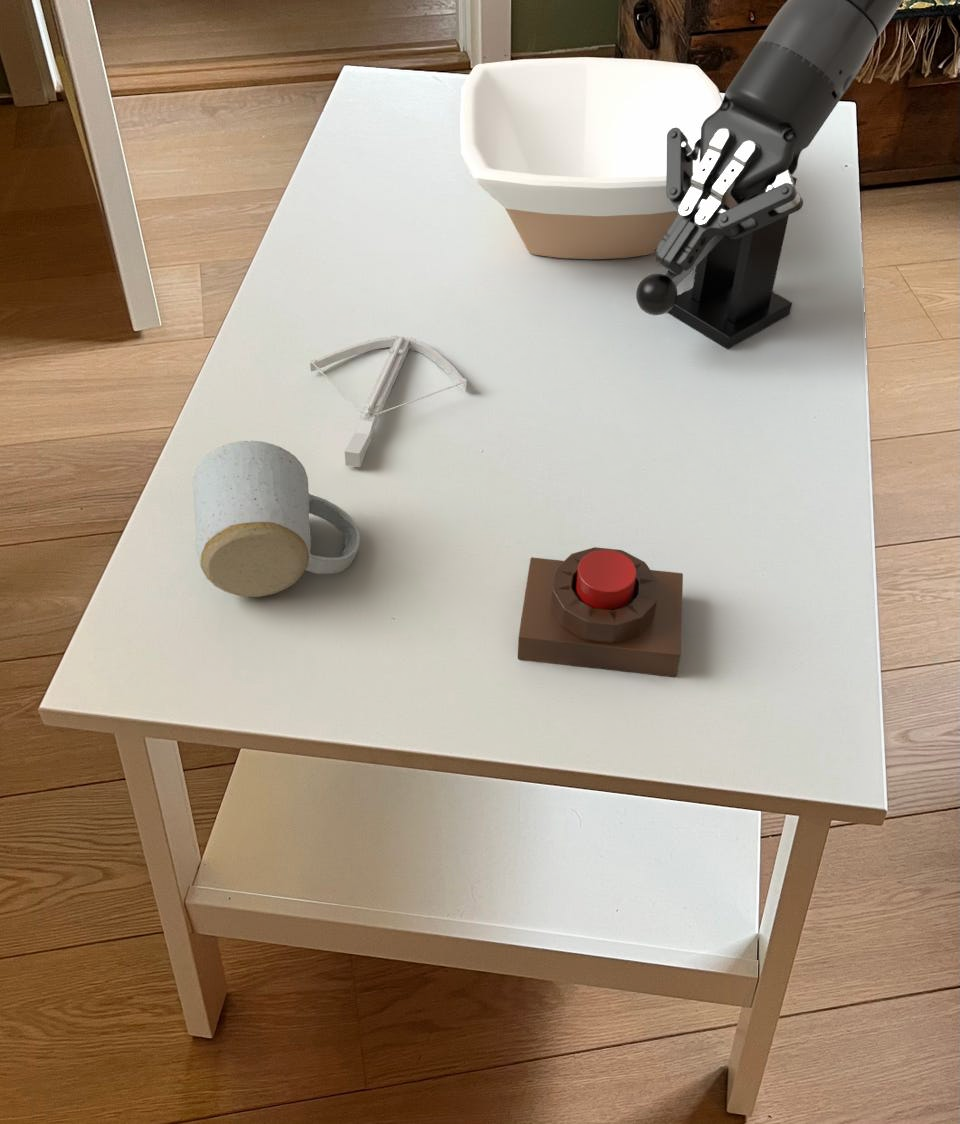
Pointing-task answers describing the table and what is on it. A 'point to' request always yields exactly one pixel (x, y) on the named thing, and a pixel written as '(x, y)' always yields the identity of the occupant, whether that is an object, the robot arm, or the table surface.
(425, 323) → the table surface
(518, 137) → the bowl
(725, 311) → the bracket
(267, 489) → the ceramic mug
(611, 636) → the button block
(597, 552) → the button
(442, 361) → the crossbow
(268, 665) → the table surface
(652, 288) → the lever
